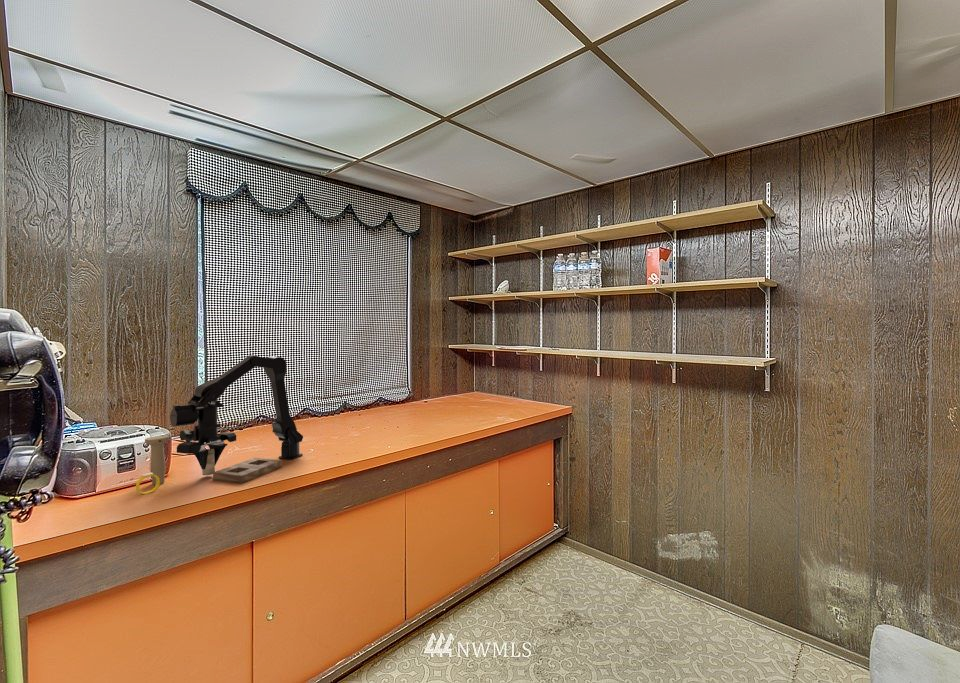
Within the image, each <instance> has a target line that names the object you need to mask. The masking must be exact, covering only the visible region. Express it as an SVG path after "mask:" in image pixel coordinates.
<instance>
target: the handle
mask: <svg viewBox="0 0 960 683" xmlns="http://www.w3.org/2000/svg"><path fill="white" fill-rule="evenodd" d="M168 441H170V435H166V434H165V435H156V436H150V437H146V438H145V439H144V443H145V444H147V445H149V446H150V462H149V463H150V465H149V467H150V468H149V469H150V471H149V473H150V472H152V473H153V475H156V476H158V478H159V479H160V484H159V485H161V484H164V483H165V480H166V479H165V477H166V460H165V444H166V443H167V442H168ZM150 479H151V484H152V485H154V486H155V485H156V483H157V482H156V478H155V477H154V476H151V477H150Z"/></svg>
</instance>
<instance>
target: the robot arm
mask: <svg viewBox="0 0 960 683" xmlns="http://www.w3.org/2000/svg"><path fill="white" fill-rule="evenodd" d="M254 368H263V369H264V373H265V375H266V376H267V377H268V379H269V382H270V386H271V387H270V388H271V391H272V392H271V393H272V399H273V404H274V409H275V420H274V421H271V426H272V432H271V433H274V435H275V436H276V437H277V438H278V441H280V442H281V448H280V454H281V455H280V456H278V459H284V460H285V459H286V460H293V459H297V458H299V457H302V456H303V453H300V443H301V442H303V439H304V435H303V434H301V432H299V431H298V428H297V425H296V422H295V420H294V419H293V418H292V416H291V414H290V413H291V412H290V408H289V401H288V395H287V390H286V388H287V387H286V382H285V377H286V374H287V361H286V359H285V358H283V357H281V356H267V357H264V356H263V357H262V356H258V355H254V354H253V355H251V354H250V355H247V356H245V358H244V359H243V360H241V361H239V362H238V363H236V364H235V365H234V366H233V367H231V368H230V369H228V370H227V371H225V372H224V373H222V374H221V375H219V376H218V377H215V378H213V379H210V380H207V381H205V382H203V383H201V384H199V385H198V386H196V388H194V393H193V395H192V397H191V398H190V400H188V402H187V404H174V405H172V409H171V411H170V414H169V422H170V425H171V426H172V427H173V428H175V427H182V426H188V425H194V424H195V423H197V424H195V425H194V428H193V430H188V429H185V430H181V431H179V439H180V441H183V442H181V443H178V445H177V446H176V453H177V454H178V453H179V454H186V455H187V454H188V455H191V454H193V455H194V456H195V458H196V460H197V462H198V464H199V466H200V469H201V470H202V469H205V468H206V464H207V457H208V451H209V450H206V446H207V447H208V449H214V450H215V453H214V457H215V466H216V465H217V463H218V461H219V459H220V457H221V455H222V453H223V451H224V449H225V448H226V447H227V446H228V443H233V442H236V441H237V434H236V433H235V432H233V431H232V432H229V431H222V432H219V433H218V428H220V427H221V423H218V408H224V407H225V405H224V404H223V403H222V402H220V400H219V398H221V396H222V395H223V394H224V393H225V391H226V390H227V388H228V387H230V385H232V384H234V383H235V382H237V381H239V379H241V378H242V377H243V376H245V375H246V374H248V373H249V372H250V371H251V370H252V371H253V369H254ZM184 441H185V442H184ZM225 441H227V442H228V443H225Z"/></svg>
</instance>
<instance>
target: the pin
mask: <svg viewBox="0 0 960 683" xmlns="http://www.w3.org/2000/svg"><path fill="white" fill-rule="evenodd" d="M205 449H206V448H205ZM206 450H209V451H208V457H207V464H206V468H205V469H202V468H201V471H202V476H211V475H213V472H216V469H215V468H216V467H215V466H216V465H215V457H214V453H215V450H214V449H210V448H207V449H206Z"/></svg>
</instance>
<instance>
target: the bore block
mask: <svg viewBox="0 0 960 683" xmlns="http://www.w3.org/2000/svg"><path fill="white" fill-rule="evenodd" d="M282 461H283V460H280V459H270V458H260V457H252V458H250V459H247V460H244V461H241V462H239V463H236V464H234V465H230V466H227V467H225V468H221V469H219V470H215V472H213V474H212V481H218V480H221V482H226V481H228V483H234V482H237V483H236V484H244V483H246V482H248V481H252V480H254V479H257V478H259V477H262V476H264V475H266V474H269V473H271V472H273V471H276V470H279V469H280V468H282ZM278 468H279V469H278ZM256 477H257V478H256ZM251 479H252V480H251Z"/></svg>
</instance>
